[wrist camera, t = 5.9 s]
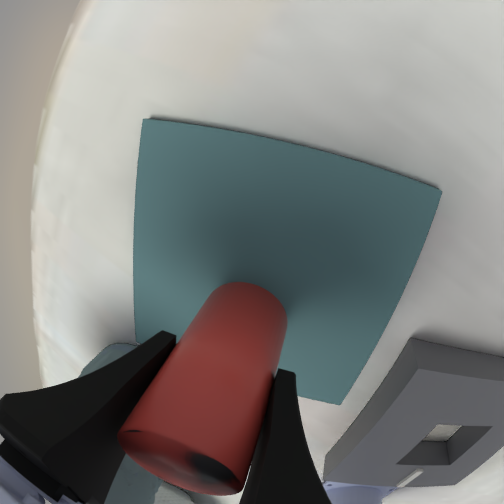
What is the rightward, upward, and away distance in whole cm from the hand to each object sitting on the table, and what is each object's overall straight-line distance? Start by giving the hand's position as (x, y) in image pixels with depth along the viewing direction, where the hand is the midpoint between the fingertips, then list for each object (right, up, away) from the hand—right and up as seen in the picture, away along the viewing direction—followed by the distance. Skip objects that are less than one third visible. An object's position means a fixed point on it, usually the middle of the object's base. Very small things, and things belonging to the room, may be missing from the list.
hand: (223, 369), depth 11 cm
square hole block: (+15, -8, +6) cm, 18 cm away
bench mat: (+1, +3, +4) cm, 6 cm away
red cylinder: (+1, +1, +3) cm, 3 cm away
